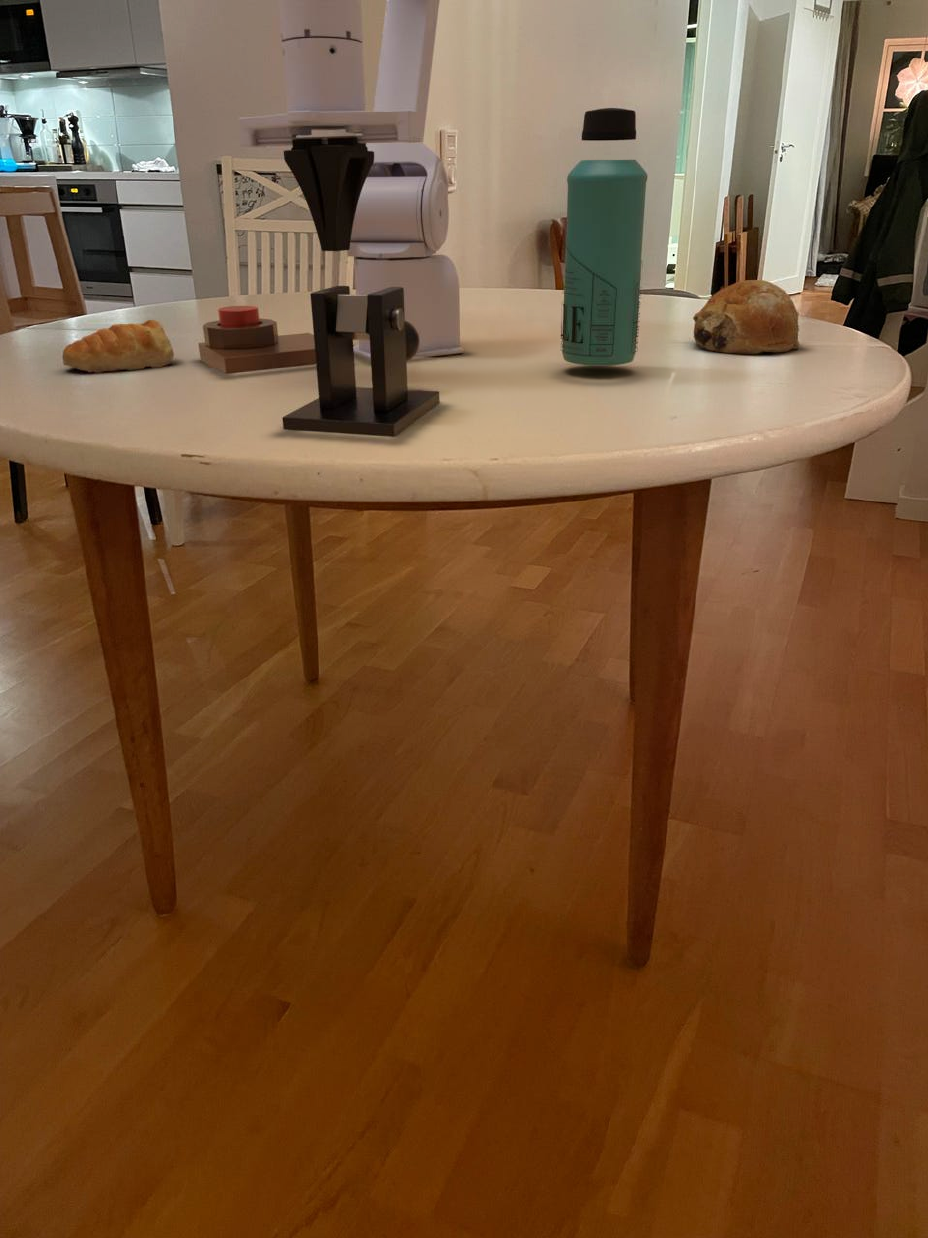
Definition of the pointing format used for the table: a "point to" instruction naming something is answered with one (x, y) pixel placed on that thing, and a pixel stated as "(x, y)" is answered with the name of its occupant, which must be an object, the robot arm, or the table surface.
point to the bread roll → (748, 320)
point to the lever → (366, 322)
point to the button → (238, 316)
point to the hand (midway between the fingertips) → (335, 250)
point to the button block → (254, 347)
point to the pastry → (121, 348)
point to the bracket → (338, 395)
